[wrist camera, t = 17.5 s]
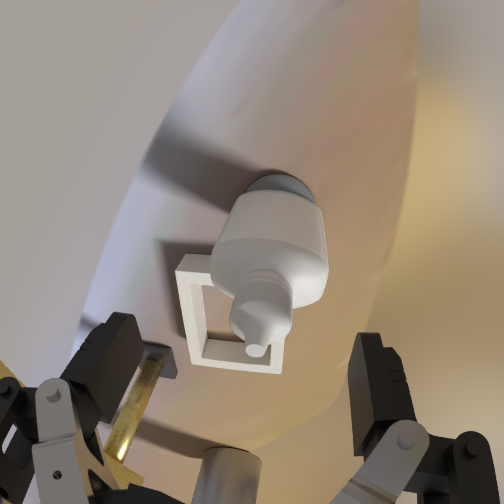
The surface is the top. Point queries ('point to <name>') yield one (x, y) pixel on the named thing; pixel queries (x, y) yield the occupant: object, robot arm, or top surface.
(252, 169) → the top surface
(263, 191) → the eye dropper bottle
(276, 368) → the white rectangular frame
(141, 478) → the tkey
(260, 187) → the grey round disc
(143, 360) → the key plate
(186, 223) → the top surface
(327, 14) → the top surface
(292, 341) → the top surface
